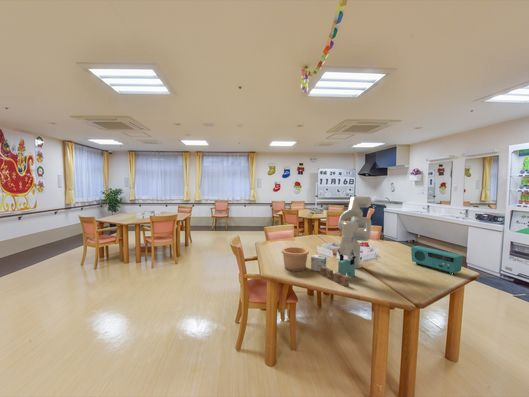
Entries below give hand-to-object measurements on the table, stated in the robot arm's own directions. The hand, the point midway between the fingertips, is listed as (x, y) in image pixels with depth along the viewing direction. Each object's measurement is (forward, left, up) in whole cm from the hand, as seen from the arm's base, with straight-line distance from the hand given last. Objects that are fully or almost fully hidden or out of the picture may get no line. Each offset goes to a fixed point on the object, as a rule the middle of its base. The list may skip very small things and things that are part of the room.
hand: (346, 262), depth 174 cm
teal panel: (-1, 0, -11) cm, 11 cm away
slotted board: (+6, -11, -11) cm, 16 cm away
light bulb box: (-14, -17, -11) cm, 25 cm away
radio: (-18, +77, -11) cm, 80 cm away
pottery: (-19, -35, -11) cm, 41 cm away
